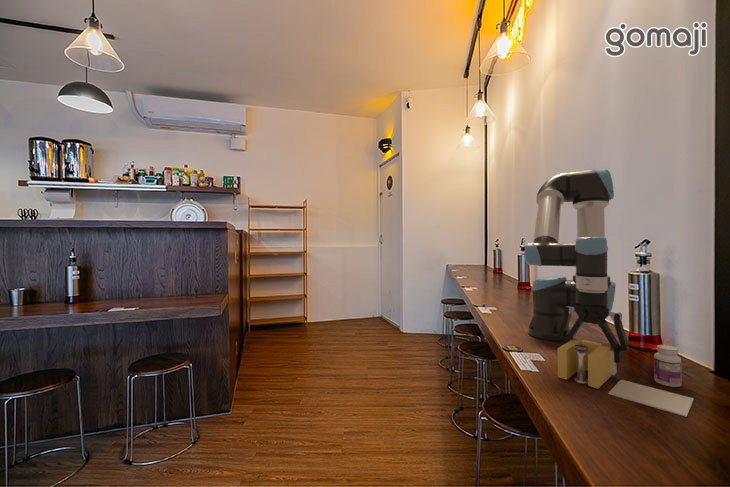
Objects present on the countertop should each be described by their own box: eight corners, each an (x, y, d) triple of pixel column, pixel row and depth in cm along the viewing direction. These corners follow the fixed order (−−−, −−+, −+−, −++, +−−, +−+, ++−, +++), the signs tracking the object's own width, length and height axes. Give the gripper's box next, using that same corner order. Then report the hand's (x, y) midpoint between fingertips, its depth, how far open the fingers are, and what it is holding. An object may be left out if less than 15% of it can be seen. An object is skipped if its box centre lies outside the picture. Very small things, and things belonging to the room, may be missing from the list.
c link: (574, 364, 99) (574, 338, 99) (613, 374, 92) (612, 345, 92) (557, 377, 91) (557, 348, 90) (598, 388, 83) (597, 357, 83)
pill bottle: (655, 377, 91) (654, 342, 91) (681, 382, 87) (681, 346, 87) (653, 383, 87) (653, 347, 87) (681, 389, 83) (680, 352, 83)
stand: (576, 377, 91) (576, 343, 91) (590, 381, 89) (590, 346, 89) (572, 381, 89) (572, 346, 89) (586, 385, 87) (586, 349, 86)
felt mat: (620, 380, 89) (620, 379, 89) (693, 399, 78) (693, 398, 78) (608, 394, 82) (608, 392, 82) (686, 417, 71) (686, 415, 71)
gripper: (544, 288, 100) (545, 360, 101) (637, 297, 83) (637, 384, 84) (554, 285, 105) (555, 354, 106) (644, 293, 88) (644, 376, 88)
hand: (591, 368), depth 95 cm, fingers closed on c link, 9 cm apart
